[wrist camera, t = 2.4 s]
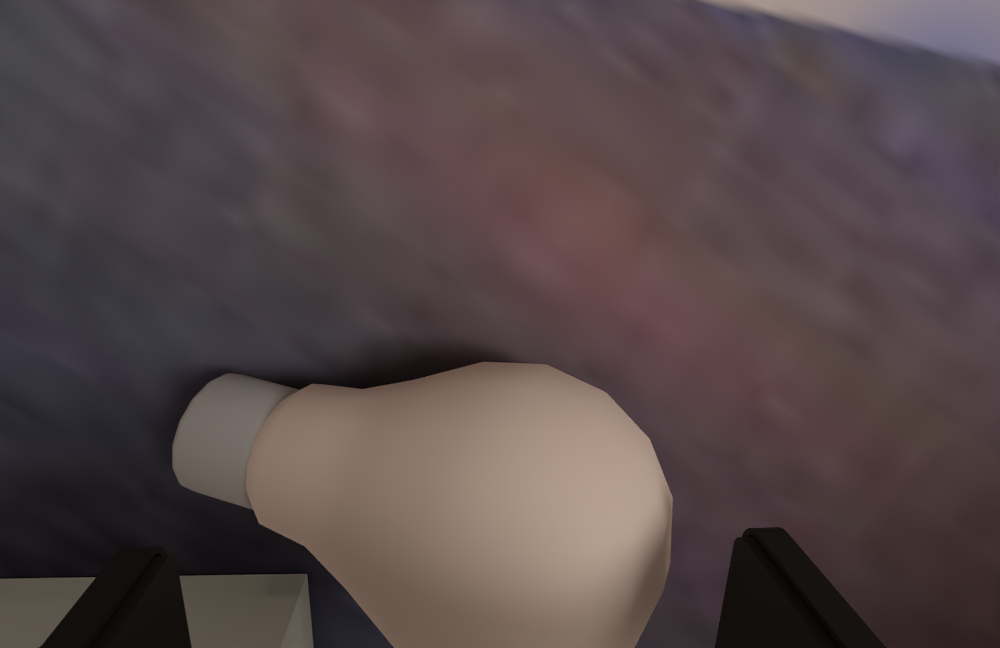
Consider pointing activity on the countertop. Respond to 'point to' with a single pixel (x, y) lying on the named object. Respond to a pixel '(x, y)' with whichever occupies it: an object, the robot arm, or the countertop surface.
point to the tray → (208, 604)
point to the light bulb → (451, 499)
